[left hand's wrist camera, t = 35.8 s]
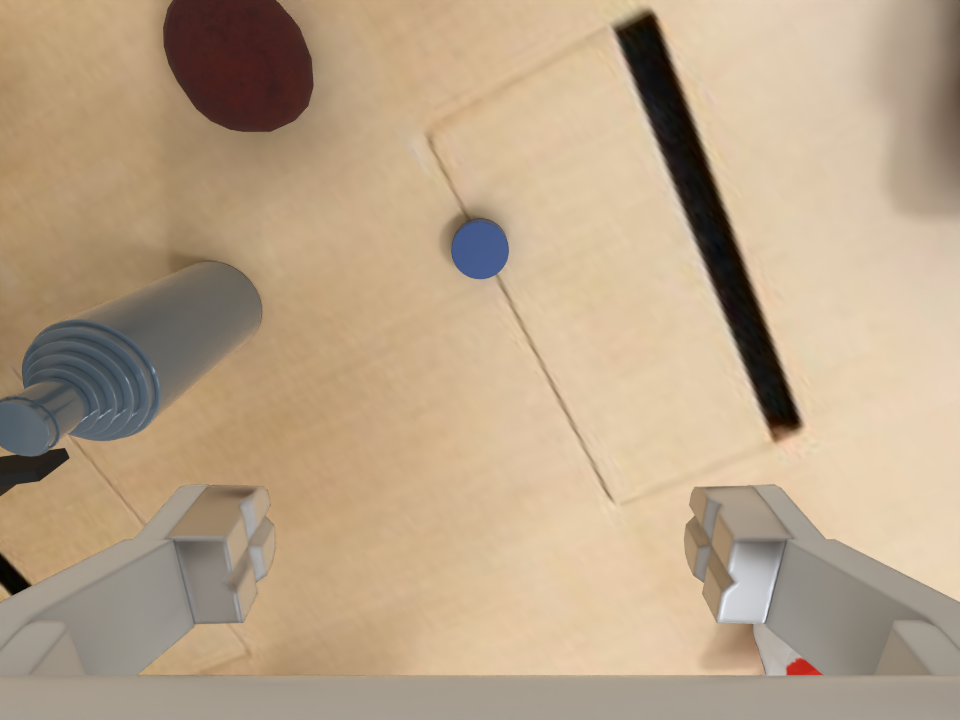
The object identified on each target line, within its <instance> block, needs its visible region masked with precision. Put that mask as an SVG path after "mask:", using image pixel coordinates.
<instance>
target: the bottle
mask: <svg viewBox="0 0 960 720" xmlns="http://www.w3.org/2000/svg"><path fill="white" fill-rule="evenodd" d="M261 318H262V305H261V301H260V298H259V295H258V293H257V291H256V289H255V287H254V286H253V284H252V283H251V282H250V280H249V279H248V278H247V277H246V276H245V275H244V274H242V273H241V272H240V271H238V270H237V269H235V268H233V267H231V266H229V265H226V264H223V263H219V262H213V261H205V262H199V263H196V264H193V265H190V266H188V267H186V268H183V269H181V270H179V271H176V272H174V273H172V274H169V275H167V276H165V277H162V278H160V279H158V280H155V281H153V282H151V283H148V284H146V285H144V286H141V287H139V288H136V289H134V290H132V291H129V292H127V293H125V294H122V295H120V296H118V297H115V298H113V299H111V300H108V301H106V302H104V303H101V304H99V305H97V306H94V307H92V308H90V309H87V310H85V311H83V312H80V313H78V314H76V315H73V316H71V317H69V318H66V319H64V320H62V321H59V322H57V323H55V324H52V325H51V326H49V327H47V328H45V329H44V330H43V331H42V332H40V333H39V334H38V336H37V337H36V338H35V339H34V341H33V342H32V344H31V345H30V347H29V348H28V350H27V352H26V354H25V357H24V360H23V365H22V375H23V384H24V390H22V391H20V392H18V393H16V394H14V395H13V396H7V397H5V398H2V399H0V446H1V447H3V448H4V449H6V450H7V451H9V452H12V453H14V454H18V455H22V456H30V457H32V456H39V455H41V454H44V453H46V452H47V451H48V450H49V449H51V448H53V447H54V446H55V445H56V444H57V443H58V442H59V440H60V439H61V438H63V437H64V436H66V435H67V434H69V435H73V436H76V437H80V438H83V439H88V440H94V441H110V440H115V439H119V438H125V437H129V436H132V435H134V434H136V433H138V432H140V431H142V430H143V429H145V428H146V427H147V426H148V425H150V424H151V423H152V422H153V421H154V420H155V419H157V418H158V417H159V416H160V415H161V414H162V413H164V412H165V411H166V410H167V409H168V408H169V407H171V406H172V405H173V404H174V403H175V402H176V401H178V400H179V399H180V398H181V397H182V396H184V395H185V394H186V393H187V392H188V391H189V390H191V389H192V388H193V387H194V386H195V385H196V384H198V383H199V382H200V381H201V380H202V379H203V378H205V377H206V376H207V375H208V374H209V373H210V372H212V371H213V370H214V369H215V368H216V367H217V366H219V365H220V364H221V363H222V362H223V361H224V360H226V359H227V358H228V357H229V356H230V355H231V354H233V353H234V352H235V351H236V350H237V349H238V348H240V347H241V346H242V345H243V344H244V343H245V342H247V341H248V340H249V339H250V338H251V337H252V336H253V335H254V334H255V333H256V331H257V329H258V328H259V325H260V322H261Z"/></svg>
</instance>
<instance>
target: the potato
mask: <svg viewBox="0 0 960 720" xmlns="http://www.w3.org/2000/svg"><path fill="white" fill-rule="evenodd" d="M163 35H164V48H165V52H166V56H167V59H168V63H169V66H170V68H171V70H172V72H173V74H174V76H175V78H176V80H177V81H178V83H179V84H180V86H181V87H182V89H183V90H184V92H185V93H186V95H187V96H188V98H189V99H190V100H191V102H192V103H193V105H194V106H195V108H196V109H197V110H198V111H199V112H201V113H202V114H203V115H204V116H205V117H207V118H208V119H209V120H210V121H212V122H214V123H217V124H219V125H221V126H223V127H226V128H228V129H230V130H236V131H242V132H271V131H273V130H275V129H277V128H279V127H282V126H284V125H286V124H288V123H291V122H293V121H294V120H296V119H297V118H298V116H299V115H300V114H301V113H302V112H303V111H304V110H305V109H306V108H307V107H308V105H309V101H310V97H311V94H312V90H313V73H312V60H311V56H310V53H309V51H308V48H307V46H306V43H305V41H304V38H303V35H302V33H301V30H300V28H299V27H298V25H297V24H296V23H295V21H294V20H293V19H292V17H291V16H290V15H289V14H288V13H287V12H286V11H285V10H284V8H283V7H282V6H281V5H280V4H279V3H278V2H277V1H276V0H173V1H172V3H171V4H170V6H169V7H168V10H167V14H166V18H165V22H164V26H163Z"/></svg>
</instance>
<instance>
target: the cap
mask: <svg viewBox="0 0 960 720" xmlns="http://www.w3.org/2000/svg"><path fill="white" fill-rule="evenodd" d="M508 253H509V248H508V242H507V239H506V236H505V233H504V232H503V230H502V229H501V228H500V227H499V226H498V225H497V224H496V223H494V222H492V221H490V220H487V219H473V220H470V221H468V222H466V223H465V224H463V225H462V226H461V227H460V228H459V229H458V231H457V232H456V234H455V237H454V240H453V243H452V258H453V261H454V263H455V265H456V266H457V268H458V269H459V270H460V271H461V272H462V273H463V274H465V275H466V276H468V277H471V278H475V279H486V278H489V277H492V276H494V275H496V274H497V273H498V272H499V271H500V270H501V269H502V268H503V267H504V265H505V264H506V261H507V258H508Z"/></svg>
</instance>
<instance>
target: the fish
mask: <svg viewBox="0 0 960 720" xmlns="http://www.w3.org/2000/svg"><path fill="white" fill-rule="evenodd" d="M753 635H754V639H755V642H756V645H757V647H758V650H759V653H760V656H761V659H762V663H763V666H764V670H765V673H766V675H823V674H821V673H820V672H819V671H818V670H817V669H816V668H814V667H813V666H812V665H811V664H810V663H808V662H807V661H806V660H805V659H804V658H802V657H801V656H800V655H799V654H798V653H797V652H795V651H794V650H793V649H792V648H791V647H789V646H788V645H787V644H786V643H785V642H783V641H782V640H781V639H780V638H779V637H777V636H776V635H775V634H774V633H773V632H772V631H770V630H769V629H768V628H767V627H766V624H753Z"/></svg>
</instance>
